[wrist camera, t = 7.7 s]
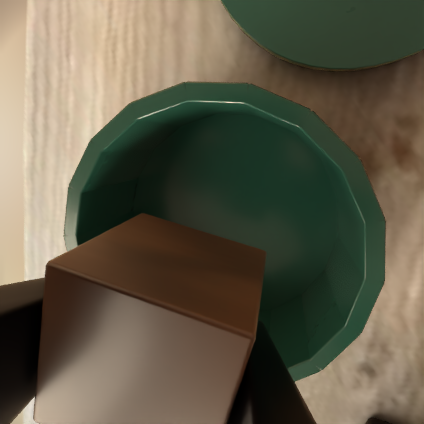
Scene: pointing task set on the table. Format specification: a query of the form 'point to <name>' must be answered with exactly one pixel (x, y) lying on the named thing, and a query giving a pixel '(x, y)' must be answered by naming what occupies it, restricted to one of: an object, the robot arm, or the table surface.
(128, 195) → the tin
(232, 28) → the table surface
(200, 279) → the block
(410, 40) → the lid
